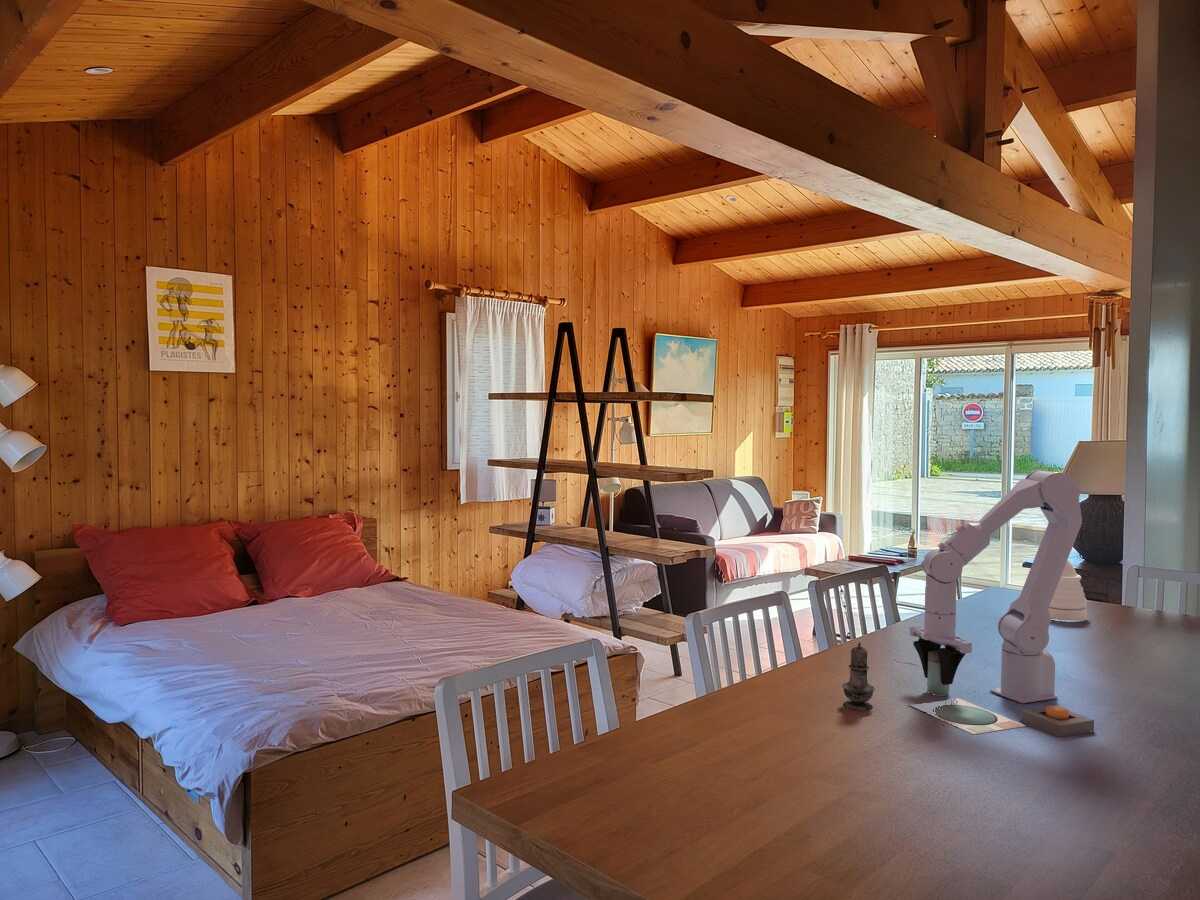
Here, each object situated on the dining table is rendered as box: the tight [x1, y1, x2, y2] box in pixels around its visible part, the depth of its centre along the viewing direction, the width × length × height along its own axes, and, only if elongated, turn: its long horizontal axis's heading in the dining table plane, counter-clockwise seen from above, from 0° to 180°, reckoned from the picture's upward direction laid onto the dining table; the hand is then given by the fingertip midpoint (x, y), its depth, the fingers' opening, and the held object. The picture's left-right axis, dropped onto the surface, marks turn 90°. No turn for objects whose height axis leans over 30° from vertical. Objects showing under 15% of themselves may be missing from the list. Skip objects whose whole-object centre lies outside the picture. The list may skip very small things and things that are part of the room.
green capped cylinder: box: [926, 650, 950, 696], centre depth 171 cm, size 4×4×8 cm
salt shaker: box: [841, 641, 876, 712], centre depth 162 cm, size 6×6×12 cm
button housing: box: [1020, 706, 1095, 738], centre depth 153 cm, size 8×8×2 cm
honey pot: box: [1048, 559, 1088, 620], centre depth 239 cm, size 13×13×18 cm
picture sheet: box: [933, 697, 1027, 735], centre depth 158 cm, size 12×16×1 cm
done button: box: [1045, 705, 1070, 721], centre depth 153 cm, size 4×4×2 cm
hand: (938, 680), depth 171 cm, fingers closed on green capped cylinder, 4 cm apart
